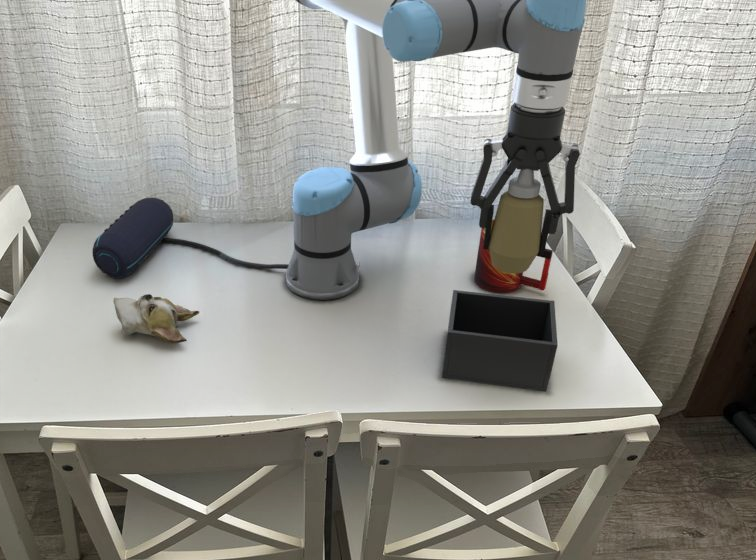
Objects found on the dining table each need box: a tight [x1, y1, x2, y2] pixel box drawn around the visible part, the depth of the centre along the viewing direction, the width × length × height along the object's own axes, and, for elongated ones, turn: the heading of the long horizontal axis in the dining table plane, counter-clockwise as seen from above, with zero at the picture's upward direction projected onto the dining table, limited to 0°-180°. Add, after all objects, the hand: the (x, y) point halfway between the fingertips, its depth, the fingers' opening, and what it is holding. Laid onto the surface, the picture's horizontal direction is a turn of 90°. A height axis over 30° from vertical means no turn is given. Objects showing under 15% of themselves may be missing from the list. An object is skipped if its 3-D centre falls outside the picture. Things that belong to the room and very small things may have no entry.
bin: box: [441, 289, 559, 393], centre depth 126 cm, size 18×14×10 cm
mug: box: [473, 219, 554, 294], centre depth 147 cm, size 10×14×12 cm
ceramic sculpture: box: [112, 293, 200, 344], centre depth 135 cm, size 11×9×15 cm
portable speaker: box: [92, 197, 174, 279], centre depth 159 cm, size 25×10×10 cm, turn 164°
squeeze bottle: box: [488, 169, 545, 274], centre depth 112 cm, size 8×8×18 cm
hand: (513, 247), depth 115 cm, fingers closed on squeeze bottle, 8 cm apart
